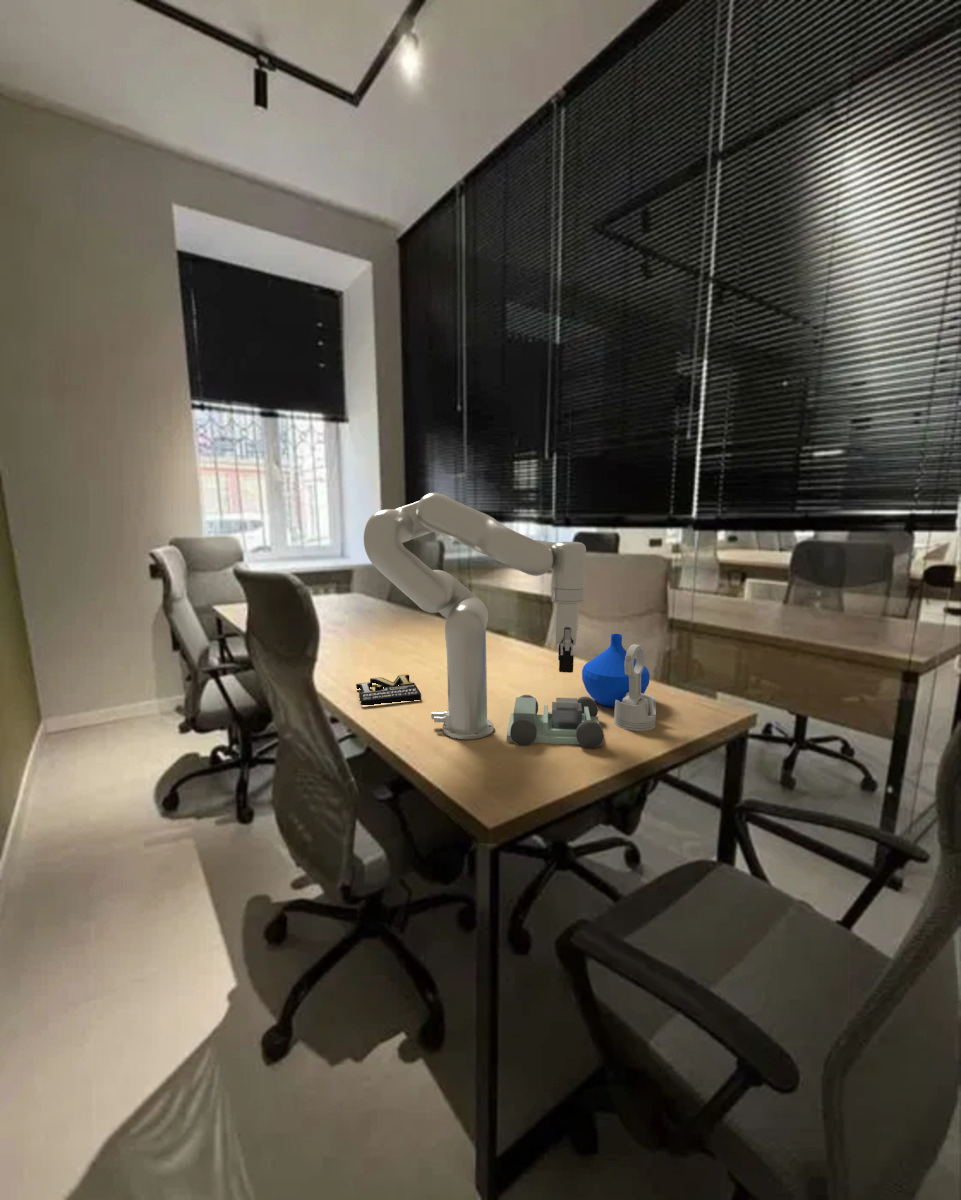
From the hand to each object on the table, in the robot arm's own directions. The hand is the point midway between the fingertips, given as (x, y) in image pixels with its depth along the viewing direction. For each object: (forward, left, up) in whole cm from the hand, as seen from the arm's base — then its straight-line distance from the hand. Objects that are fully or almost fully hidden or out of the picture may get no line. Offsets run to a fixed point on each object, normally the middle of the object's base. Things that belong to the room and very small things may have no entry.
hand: (565, 666), depth 131 cm
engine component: (+17, +7, -17) cm, 25 cm away
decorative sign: (-52, +24, -17) cm, 59 cm away
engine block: (0, 0, -15) cm, 15 cm away
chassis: (-3, 0, -17) cm, 17 cm away
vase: (+14, +23, -17) cm, 32 cm away
